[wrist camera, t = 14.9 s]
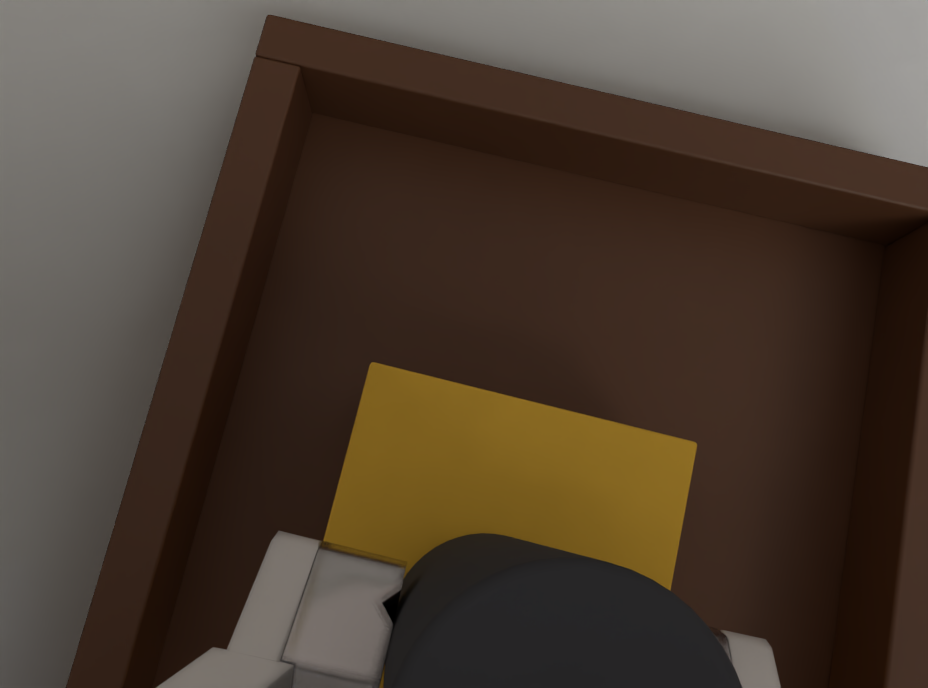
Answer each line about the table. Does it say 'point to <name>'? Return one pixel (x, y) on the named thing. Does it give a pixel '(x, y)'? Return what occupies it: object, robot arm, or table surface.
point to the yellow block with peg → (522, 541)
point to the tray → (541, 342)
